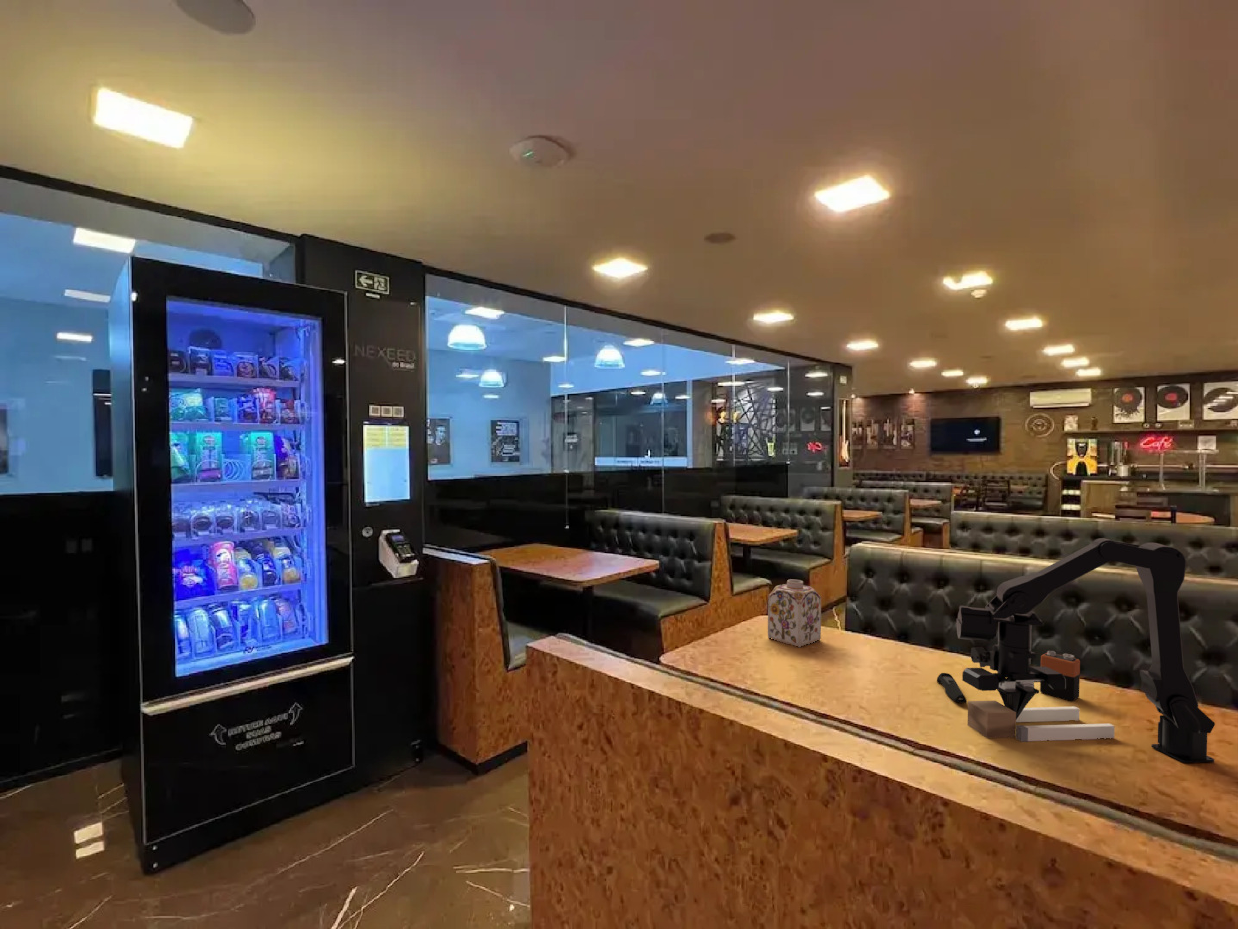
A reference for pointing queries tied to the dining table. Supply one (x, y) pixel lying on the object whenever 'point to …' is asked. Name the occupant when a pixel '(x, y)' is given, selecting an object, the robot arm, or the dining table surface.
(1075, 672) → the battery
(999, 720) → the walnut block
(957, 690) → the electric trimmer
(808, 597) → the decorative jar
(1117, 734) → the dining table surface
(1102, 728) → the chute
